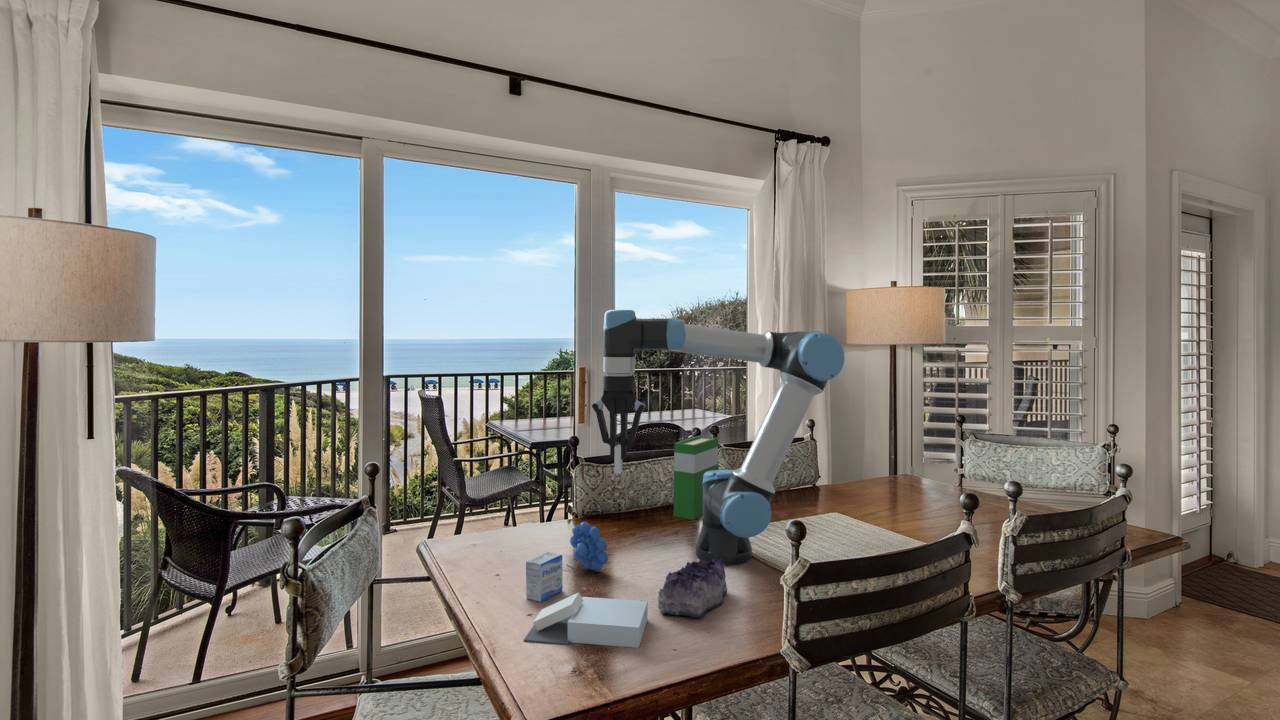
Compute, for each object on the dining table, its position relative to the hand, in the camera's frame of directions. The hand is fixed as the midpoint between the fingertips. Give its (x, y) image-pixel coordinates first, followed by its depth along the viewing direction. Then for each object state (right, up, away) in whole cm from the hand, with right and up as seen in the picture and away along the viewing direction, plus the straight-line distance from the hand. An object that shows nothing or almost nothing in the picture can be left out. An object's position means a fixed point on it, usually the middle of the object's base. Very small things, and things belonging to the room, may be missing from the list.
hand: (618, 472), depth 155 cm
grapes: (-8, -26, +8) cm, 29 cm away
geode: (+18, -28, -11) cm, 35 cm away
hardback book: (+24, -24, +61) cm, 70 cm away
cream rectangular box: (-11, -25, -24) cm, 36 cm away
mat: (-12, -27, -23) cm, 38 cm away
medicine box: (-17, -27, -7) cm, 33 cm away
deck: (-1, -28, -25) cm, 37 cm away
